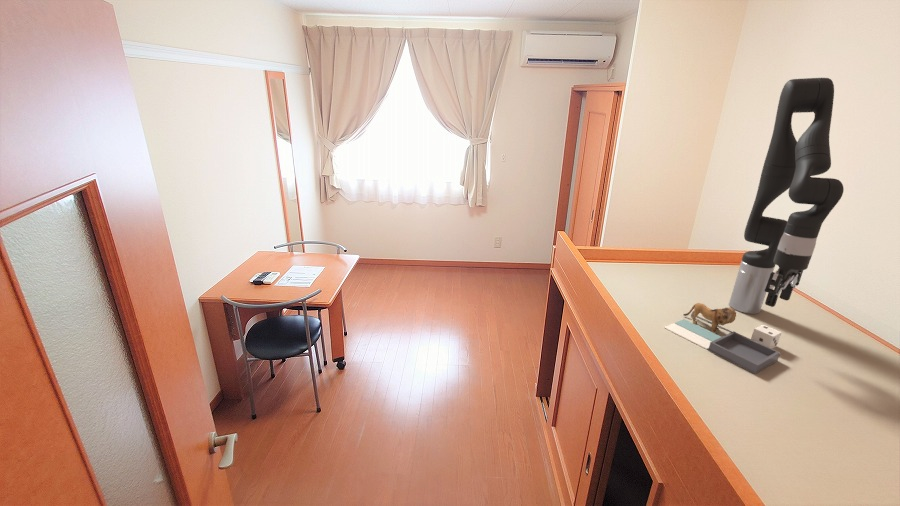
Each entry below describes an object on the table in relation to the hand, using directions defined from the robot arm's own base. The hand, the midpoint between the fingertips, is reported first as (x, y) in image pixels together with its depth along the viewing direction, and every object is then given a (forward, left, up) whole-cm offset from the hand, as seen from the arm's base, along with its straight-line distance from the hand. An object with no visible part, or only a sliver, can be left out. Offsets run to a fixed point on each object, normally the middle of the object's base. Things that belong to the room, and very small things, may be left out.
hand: (776, 302), depth 116 cm
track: (+10, -13, -14) cm, 22 cm away
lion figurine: (+4, -14, -15) cm, 21 cm away
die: (0, 0, -14) cm, 14 cm away
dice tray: (+12, 0, -14) cm, 19 cm away
